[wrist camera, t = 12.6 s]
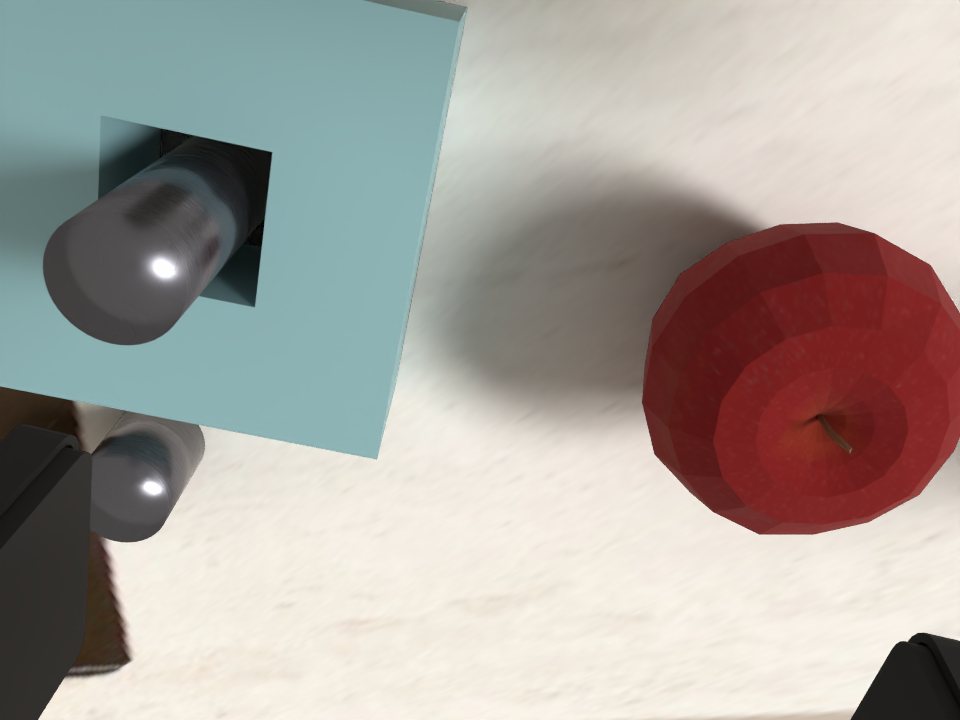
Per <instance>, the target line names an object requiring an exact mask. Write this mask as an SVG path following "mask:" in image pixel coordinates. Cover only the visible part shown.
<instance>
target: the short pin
mask: <svg viewBox="0 0 960 720" xmlns="http://www.w3.org/2000/svg"><path fill="white" fill-rule="evenodd" d="M204 450H205V442H204V437H203V433H202V431H201V429H200V427H199V425H197V424H192V423H187V422H182V421H177V420H172V419H166V418H161V417H156V416H151V415H146V414H141V413H136V412H130V411H126V412H125V413H124V415H123V416H122V417H121V418H120V420H119V421H118V422H117V423H116V425H115V426H114V427H113V428H112V429H111V431H110V432H109V433H108V434H107V436H106V437H105V438H104V439H103V441H102V442H101V443H100V444H99V446H98V447H97V448H96V449H95V451H94V452H93V453H92V454H91V457H92V484H91V509H90V530H91V531H93V532H94V533H96V534H98V535H100V536H102V537H104V538H107V539H110V540H113V541H118V542H137V541H141V540H144V539H147V538H149V537H151V536H153V535H154V534H156V533H157V532H158V531H159V530H160V529H161V527H162V526H163V525H164V523H165V521H166V519H167V518H168V516H169V514H170V513H171V511H172V509H173V507H174V506H175V504H176V502H177V501H178V499H179V497H180V496H181V494H182V492H183V490H184V489H185V487H186V485H187V484H188V482H189V480H190V478H191V477H192V475H193V473H194V472H195V470H196V468H197V467H198V465H199V463H200V461H201V460H202V458H203V455H204Z"/></svg>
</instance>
